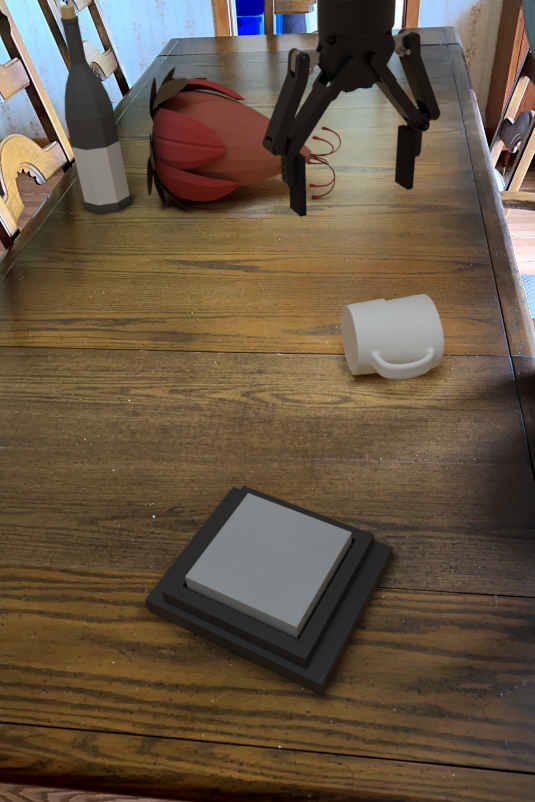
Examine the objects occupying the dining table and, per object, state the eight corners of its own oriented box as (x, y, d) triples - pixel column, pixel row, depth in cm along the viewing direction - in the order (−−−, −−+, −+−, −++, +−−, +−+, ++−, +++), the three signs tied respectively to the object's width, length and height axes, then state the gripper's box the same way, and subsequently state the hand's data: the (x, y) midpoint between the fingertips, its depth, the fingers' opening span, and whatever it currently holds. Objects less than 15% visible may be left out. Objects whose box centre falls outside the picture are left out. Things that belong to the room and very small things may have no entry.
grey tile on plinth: (351, 544, 60) (351, 532, 59) (297, 638, 54) (296, 627, 53) (249, 504, 64) (248, 492, 63) (187, 588, 58) (185, 576, 57)
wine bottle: (123, 214, 118) (83, 11, 99) (77, 213, 119) (28, 13, 100) (138, 193, 124) (103, -1, 105) (94, 193, 125) (51, 0, 106)
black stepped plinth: (392, 558, 62) (394, 536, 60) (322, 695, 53) (321, 674, 51) (234, 497, 68) (231, 475, 67) (147, 610, 59) (141, 589, 57)
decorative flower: (154, 227, 124) (326, 249, 121) (123, 144, 102) (333, 169, 99) (179, 121, 130) (344, 140, 127) (155, 20, 108) (353, 41, 105)
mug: (339, 345, 87) (339, 287, 81) (414, 334, 87) (419, 277, 82) (364, 408, 77) (366, 348, 72) (448, 396, 78) (456, 335, 73)
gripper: (444, -37, 74) (427, 164, 87) (219, -3, 67) (238, 210, 80) (490, -27, 68) (464, 186, 82) (250, 11, 61) (265, 236, 75)
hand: (352, 198), depth 81 cm, fingers open, 13 cm apart
